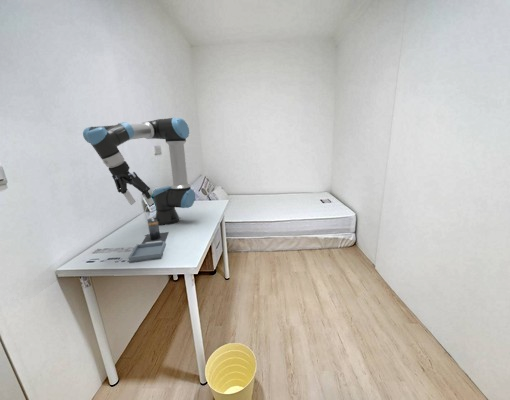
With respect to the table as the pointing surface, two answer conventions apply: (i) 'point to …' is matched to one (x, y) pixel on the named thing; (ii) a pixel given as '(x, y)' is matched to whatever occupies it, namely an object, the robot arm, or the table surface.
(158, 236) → the battery cell
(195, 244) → the table surface
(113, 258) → the table surface
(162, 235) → the dark grey pad
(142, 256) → the tray
